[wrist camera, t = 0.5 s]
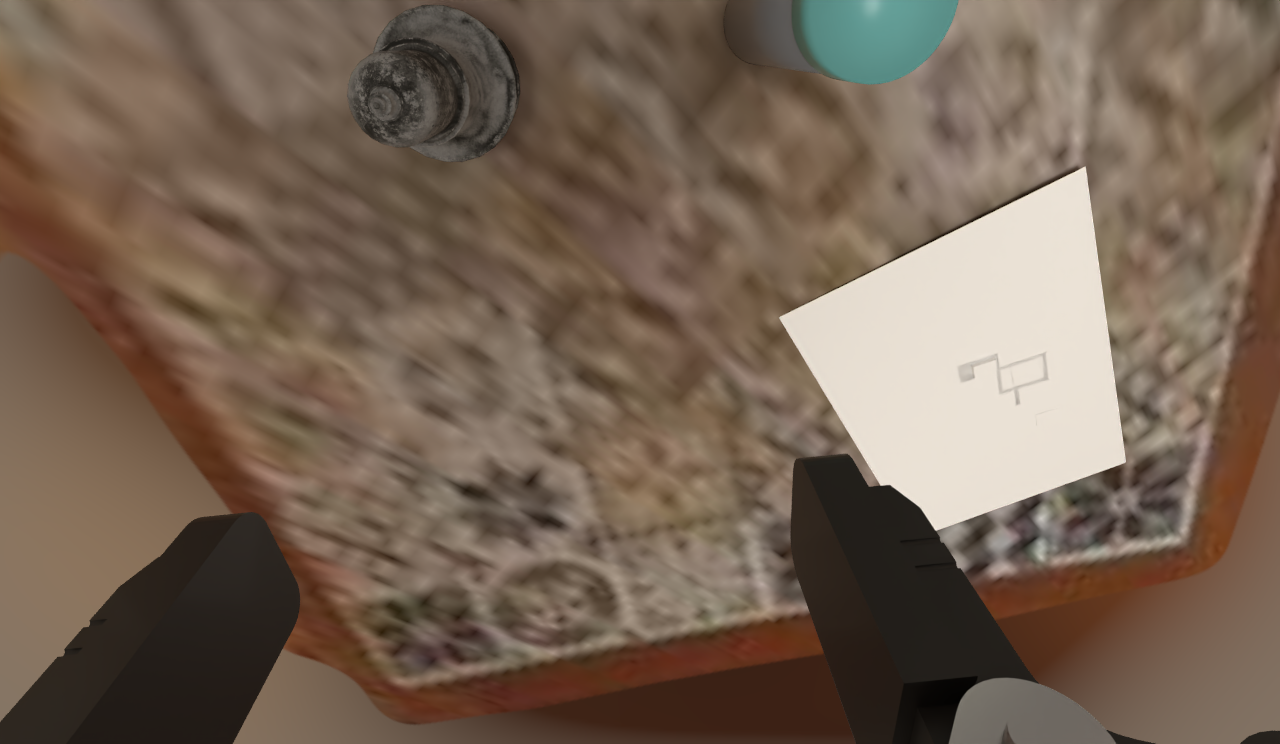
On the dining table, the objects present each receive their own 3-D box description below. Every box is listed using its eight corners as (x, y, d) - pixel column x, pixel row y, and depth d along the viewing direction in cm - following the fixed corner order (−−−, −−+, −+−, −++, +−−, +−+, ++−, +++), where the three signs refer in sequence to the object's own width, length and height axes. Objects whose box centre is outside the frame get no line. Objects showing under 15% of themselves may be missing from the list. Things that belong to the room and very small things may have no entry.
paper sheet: (1117, 482, 42) (1129, 492, 41) (718, 596, 47) (720, 608, 46) (1109, 150, 31) (1124, 154, 30) (592, 344, 36) (591, 353, 35)
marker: (719, -25, 27) (811, -81, 15) (805, -35, 27) (970, -101, 15) (723, 72, 29) (808, 92, 16) (804, 61, 29) (949, 75, 16)
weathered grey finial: (552, 95, 29) (519, 126, 18) (462, 174, 30) (383, 245, 20) (462, -23, 26) (364, -68, 16) (369, 69, 28) (223, 84, 17)
